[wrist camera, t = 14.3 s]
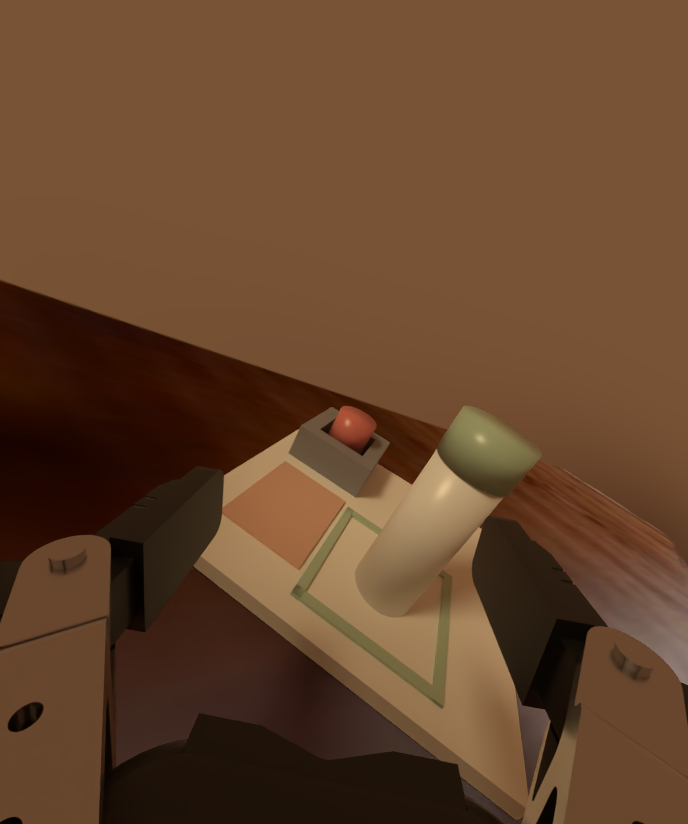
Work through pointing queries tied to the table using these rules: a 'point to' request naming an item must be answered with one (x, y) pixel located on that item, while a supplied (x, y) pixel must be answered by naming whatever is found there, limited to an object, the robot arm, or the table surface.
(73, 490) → the table surface
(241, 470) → the cream flat board
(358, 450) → the button
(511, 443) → the marker
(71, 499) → the table surface
